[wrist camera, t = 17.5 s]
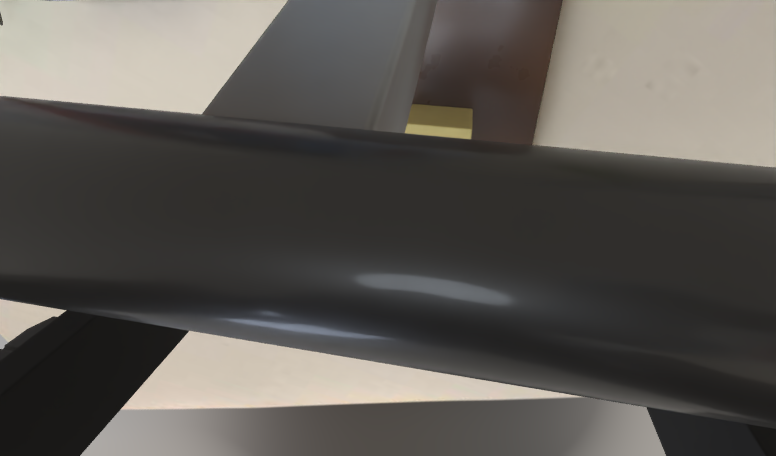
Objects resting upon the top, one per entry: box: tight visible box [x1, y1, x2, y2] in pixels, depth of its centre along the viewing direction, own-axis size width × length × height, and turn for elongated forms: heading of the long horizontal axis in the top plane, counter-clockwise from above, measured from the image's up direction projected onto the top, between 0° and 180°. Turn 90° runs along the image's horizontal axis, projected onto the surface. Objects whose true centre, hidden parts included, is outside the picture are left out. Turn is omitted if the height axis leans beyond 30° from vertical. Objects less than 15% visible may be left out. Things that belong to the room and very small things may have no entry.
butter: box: [405, 104, 473, 139], centre depth 24 cm, size 4×4×4 cm
